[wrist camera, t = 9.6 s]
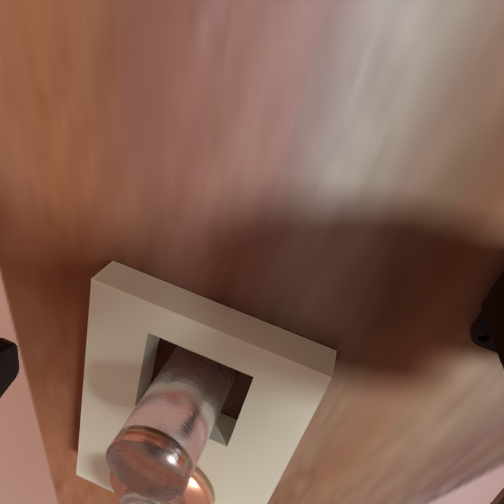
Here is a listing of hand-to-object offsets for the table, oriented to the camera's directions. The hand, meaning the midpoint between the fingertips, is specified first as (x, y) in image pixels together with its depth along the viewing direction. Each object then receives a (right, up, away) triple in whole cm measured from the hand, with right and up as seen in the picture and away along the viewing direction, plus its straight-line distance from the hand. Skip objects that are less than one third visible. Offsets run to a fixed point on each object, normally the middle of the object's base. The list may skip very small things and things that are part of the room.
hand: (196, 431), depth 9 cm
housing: (-3, -6, +18) cm, 19 cm away
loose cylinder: (-2, -3, +16) cm, 16 cm away
